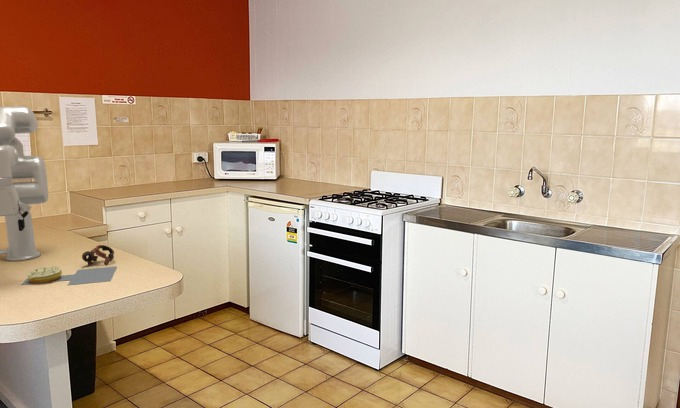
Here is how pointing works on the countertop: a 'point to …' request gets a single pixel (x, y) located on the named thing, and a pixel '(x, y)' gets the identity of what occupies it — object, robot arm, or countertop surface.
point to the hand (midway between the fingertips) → (6, 231)
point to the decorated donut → (44, 274)
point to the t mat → (85, 276)
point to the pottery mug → (99, 253)
